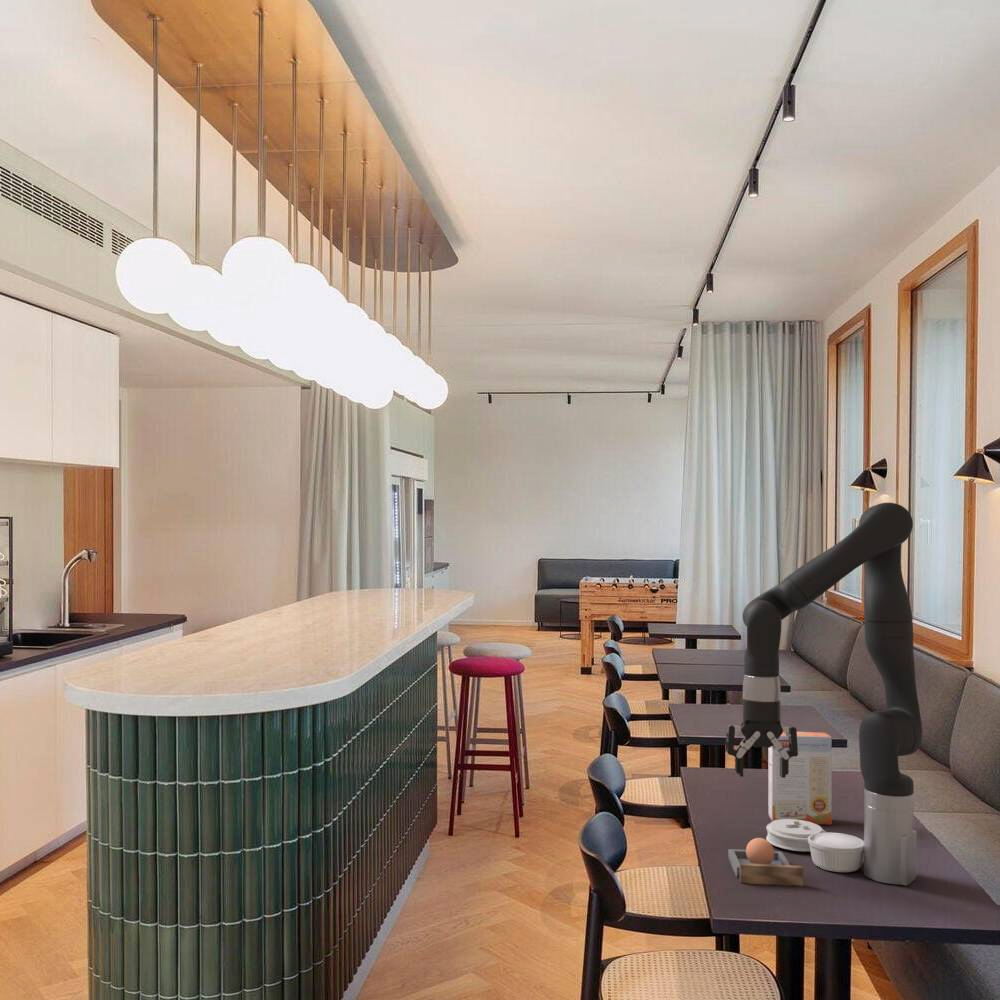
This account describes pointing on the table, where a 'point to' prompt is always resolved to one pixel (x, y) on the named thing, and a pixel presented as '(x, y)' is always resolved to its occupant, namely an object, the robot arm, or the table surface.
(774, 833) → the lid
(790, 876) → the wall
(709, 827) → the table surface
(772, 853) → the ball
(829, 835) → the ramekin
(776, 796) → the cracker box
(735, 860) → the tray
